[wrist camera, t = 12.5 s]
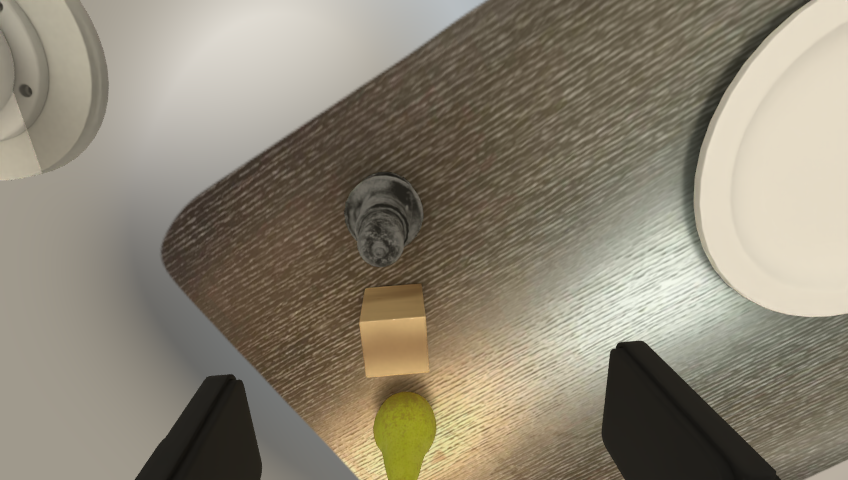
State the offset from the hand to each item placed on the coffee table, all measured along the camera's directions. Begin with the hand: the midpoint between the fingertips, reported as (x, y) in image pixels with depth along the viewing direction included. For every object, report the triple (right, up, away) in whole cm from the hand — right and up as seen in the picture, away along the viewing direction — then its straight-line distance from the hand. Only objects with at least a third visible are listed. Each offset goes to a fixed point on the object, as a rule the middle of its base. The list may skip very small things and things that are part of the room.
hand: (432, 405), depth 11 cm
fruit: (-2, -12, +31) cm, 33 cm away
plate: (+35, +11, +25) cm, 45 cm away
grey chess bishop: (-3, +7, +24) cm, 25 cm away
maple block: (-3, -2, +27) cm, 27 cm away
